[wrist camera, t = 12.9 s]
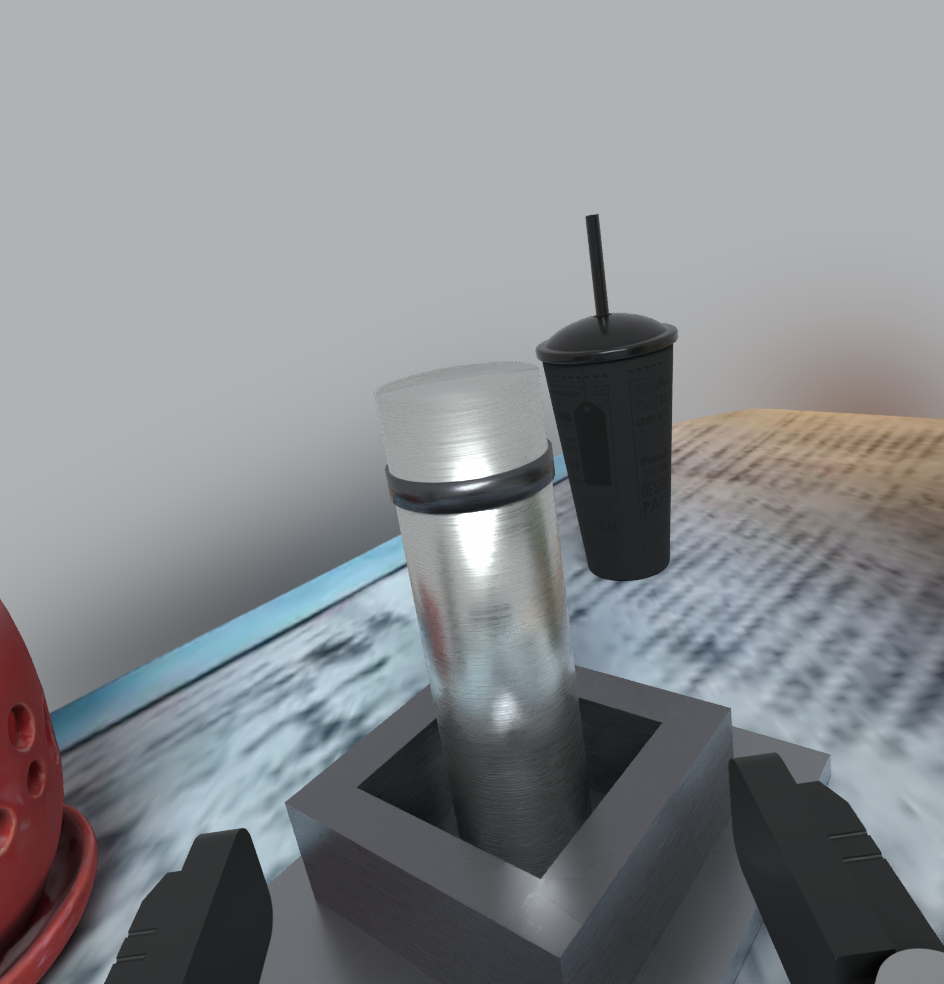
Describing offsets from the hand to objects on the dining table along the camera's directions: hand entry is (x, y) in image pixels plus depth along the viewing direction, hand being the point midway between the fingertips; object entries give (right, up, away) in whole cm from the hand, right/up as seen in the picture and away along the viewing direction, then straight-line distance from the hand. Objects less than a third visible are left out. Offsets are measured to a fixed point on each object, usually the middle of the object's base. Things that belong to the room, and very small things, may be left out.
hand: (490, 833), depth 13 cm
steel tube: (+2, -6, +13) cm, 14 cm away
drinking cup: (+9, +1, +34) cm, 35 cm away
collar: (+2, -7, +13) cm, 15 cm away
